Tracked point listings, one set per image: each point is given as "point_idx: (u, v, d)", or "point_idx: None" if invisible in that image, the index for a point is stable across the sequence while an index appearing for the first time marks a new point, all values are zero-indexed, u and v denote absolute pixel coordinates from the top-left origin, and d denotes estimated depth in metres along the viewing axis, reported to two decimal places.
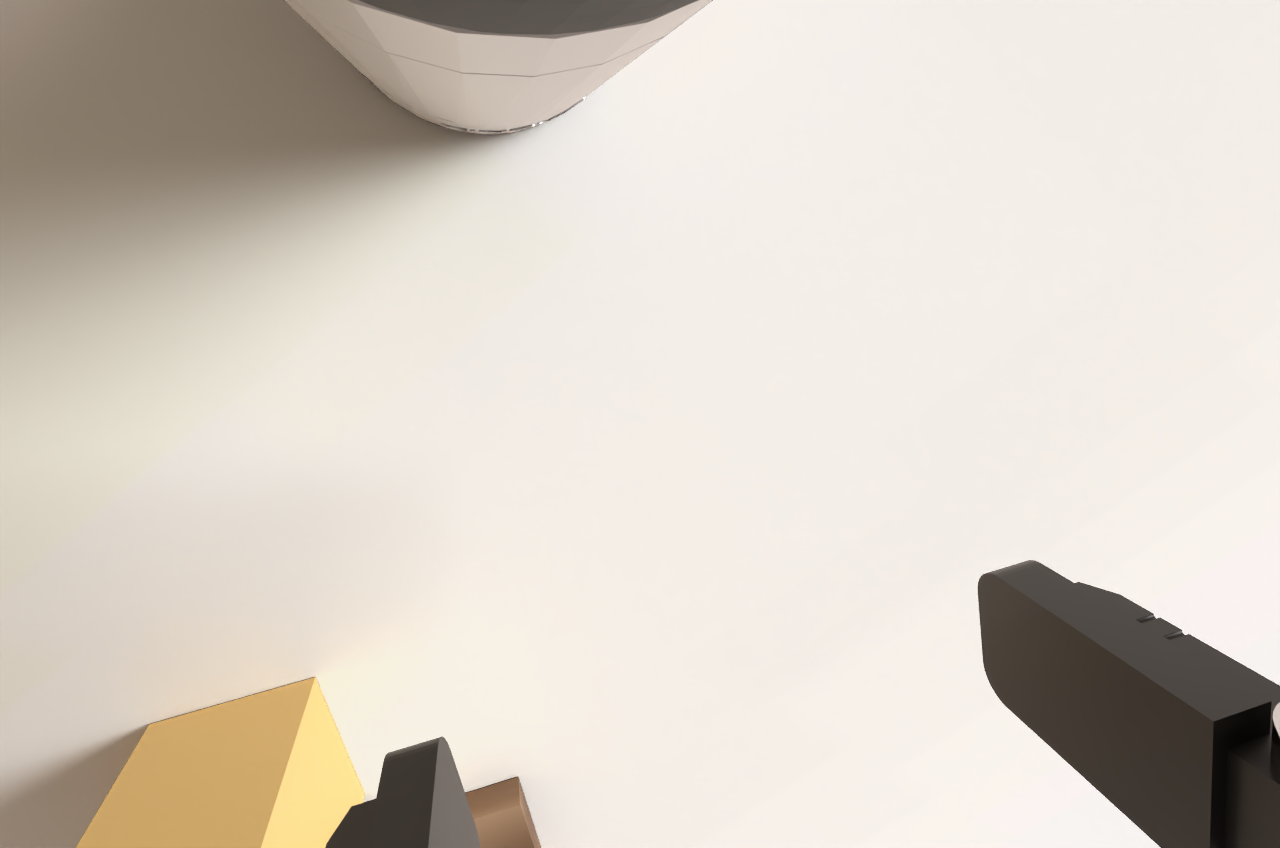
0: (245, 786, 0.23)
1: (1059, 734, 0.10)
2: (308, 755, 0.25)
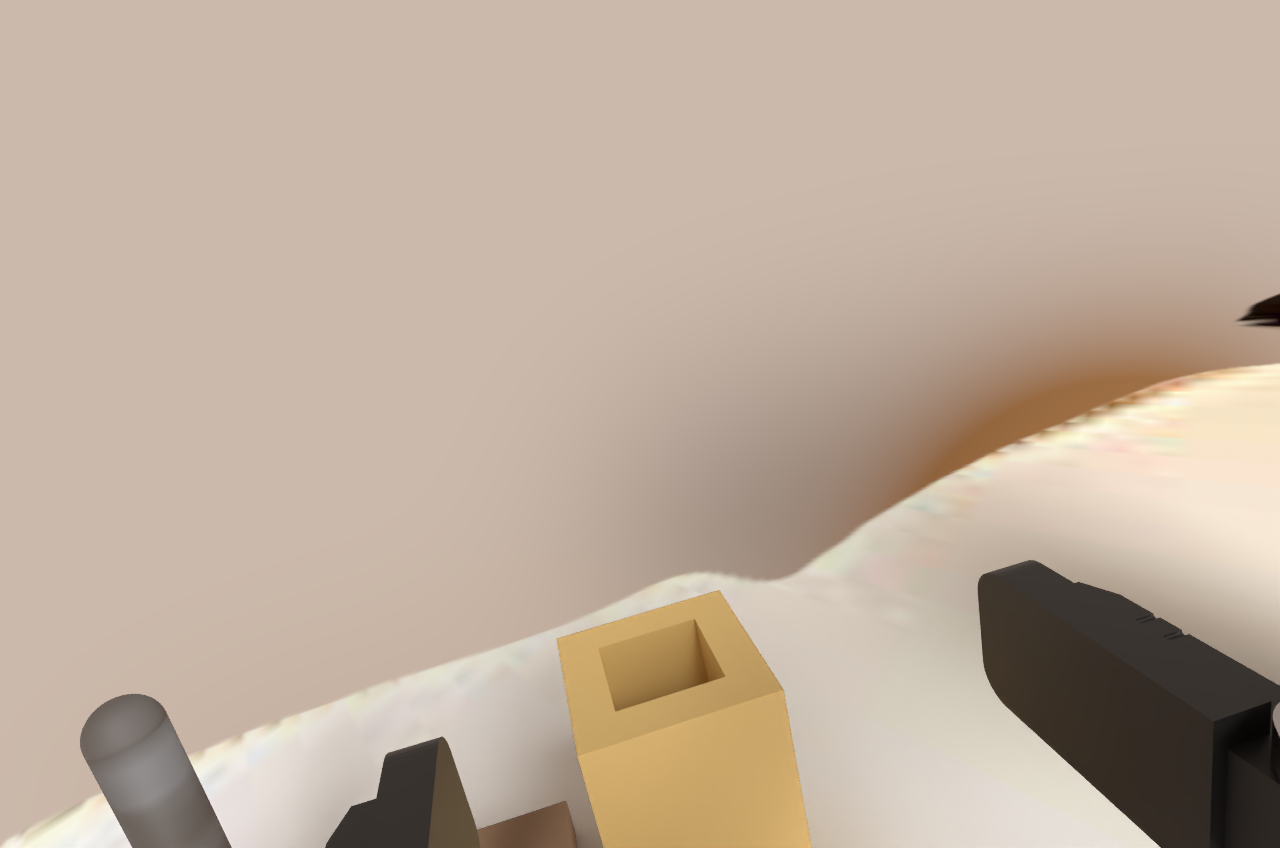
0: None
1: (1059, 734, 0.10)
2: None
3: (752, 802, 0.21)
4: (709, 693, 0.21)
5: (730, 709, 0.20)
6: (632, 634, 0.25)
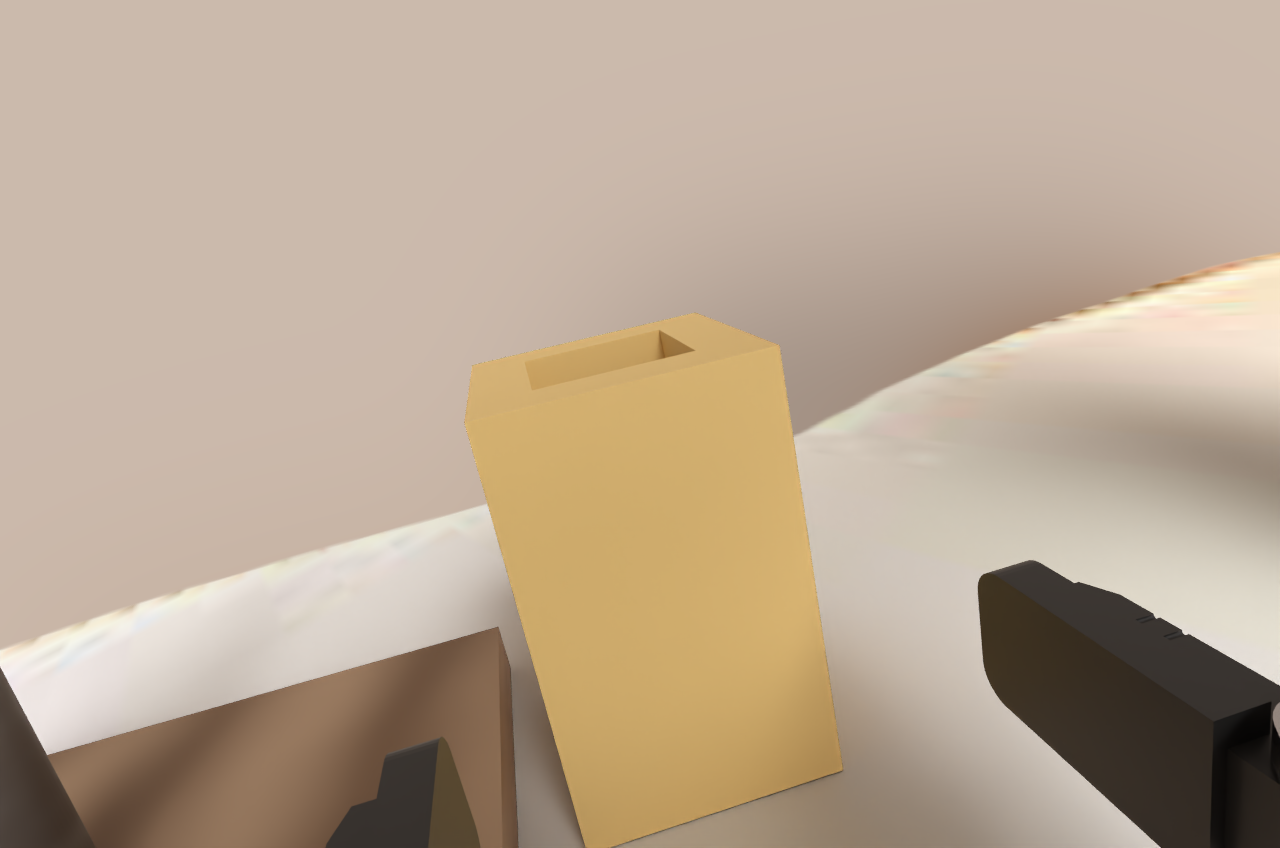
0: None
1: (1059, 734, 0.10)
2: (780, 674, 0.16)
3: (733, 529, 0.15)
4: (670, 362, 0.14)
5: (699, 369, 0.14)
6: (573, 349, 0.18)
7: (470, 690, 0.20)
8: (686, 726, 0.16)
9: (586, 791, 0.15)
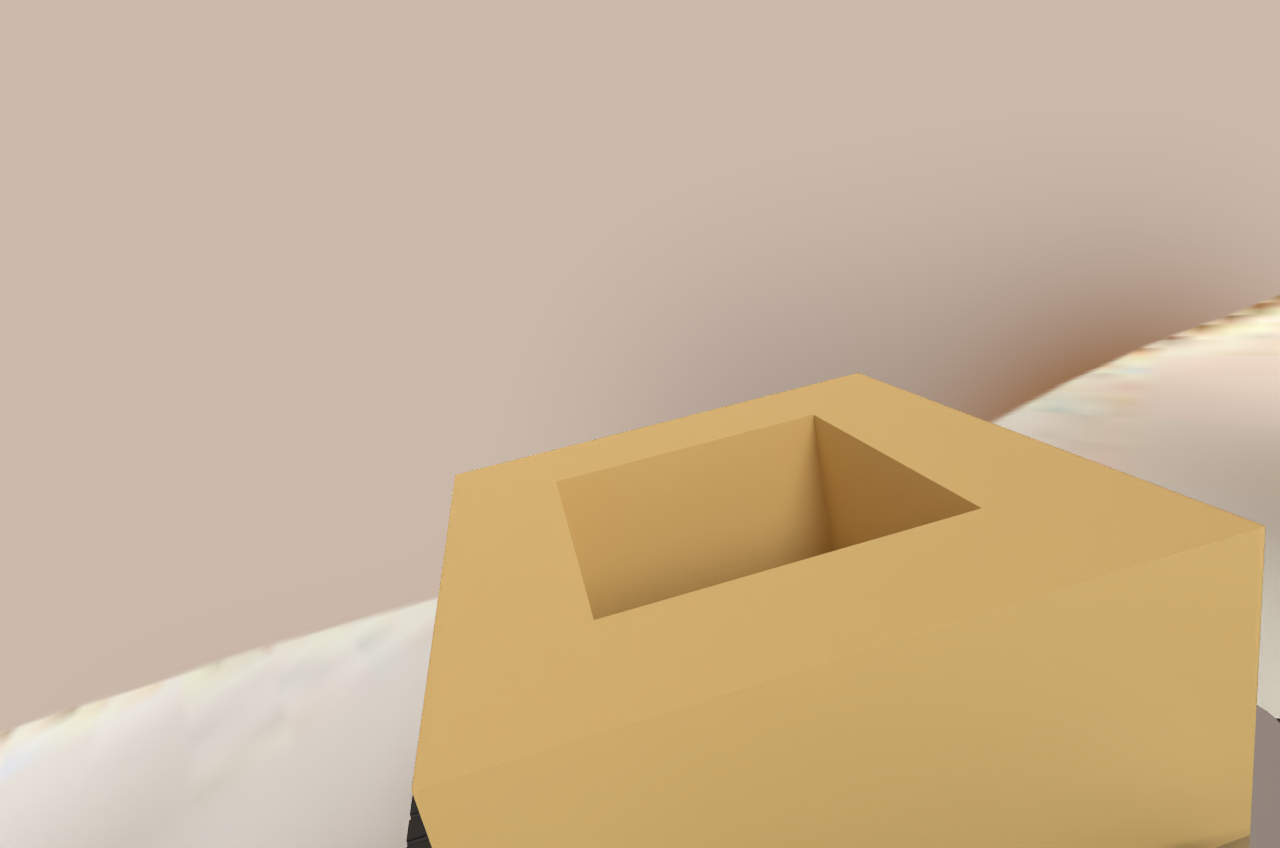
0: None
1: None
2: None
3: None
4: (947, 553, 0.06)
5: (1064, 600, 0.05)
6: (649, 453, 0.09)
7: None
8: None
9: None
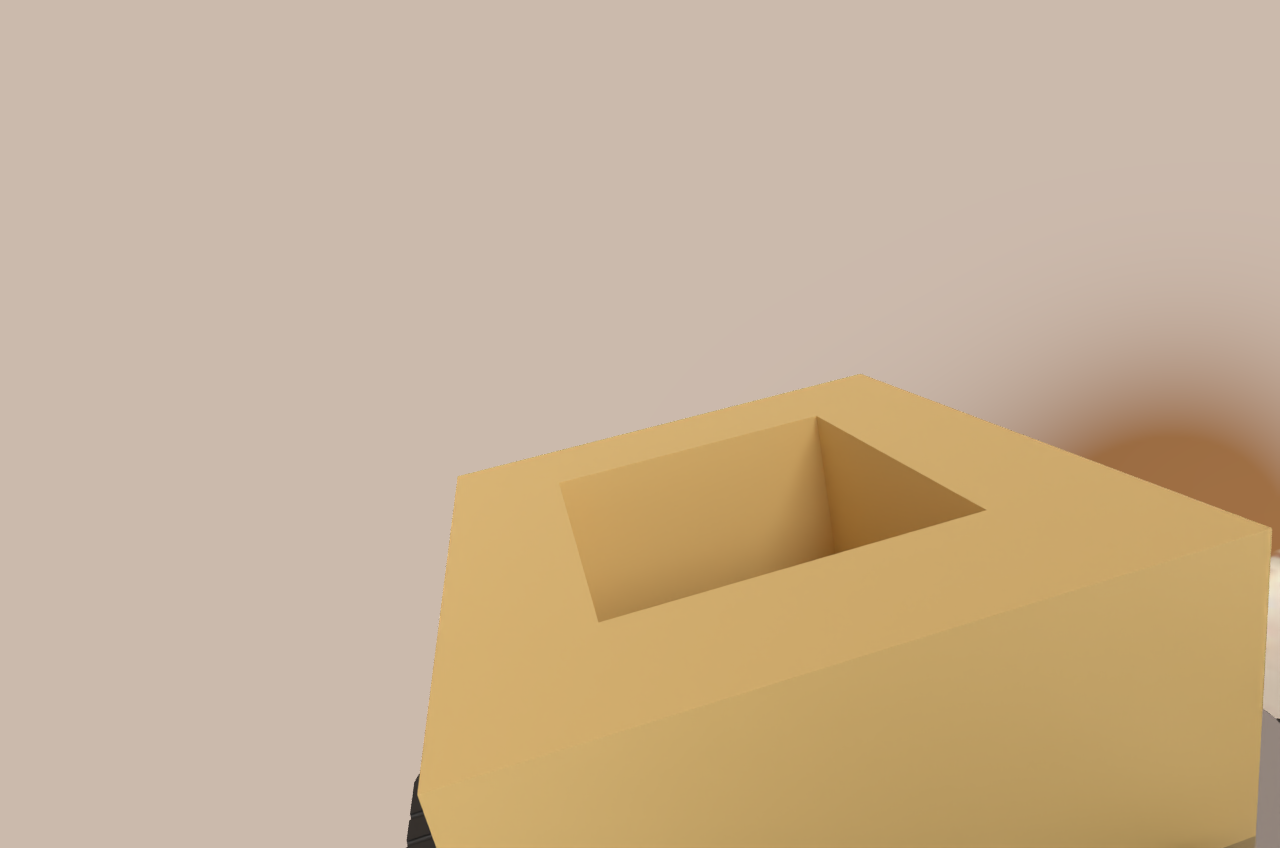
0: None
1: None
2: None
3: None
4: (951, 555, 0.06)
5: (1069, 602, 0.05)
6: (651, 454, 0.09)
7: None
8: None
9: None
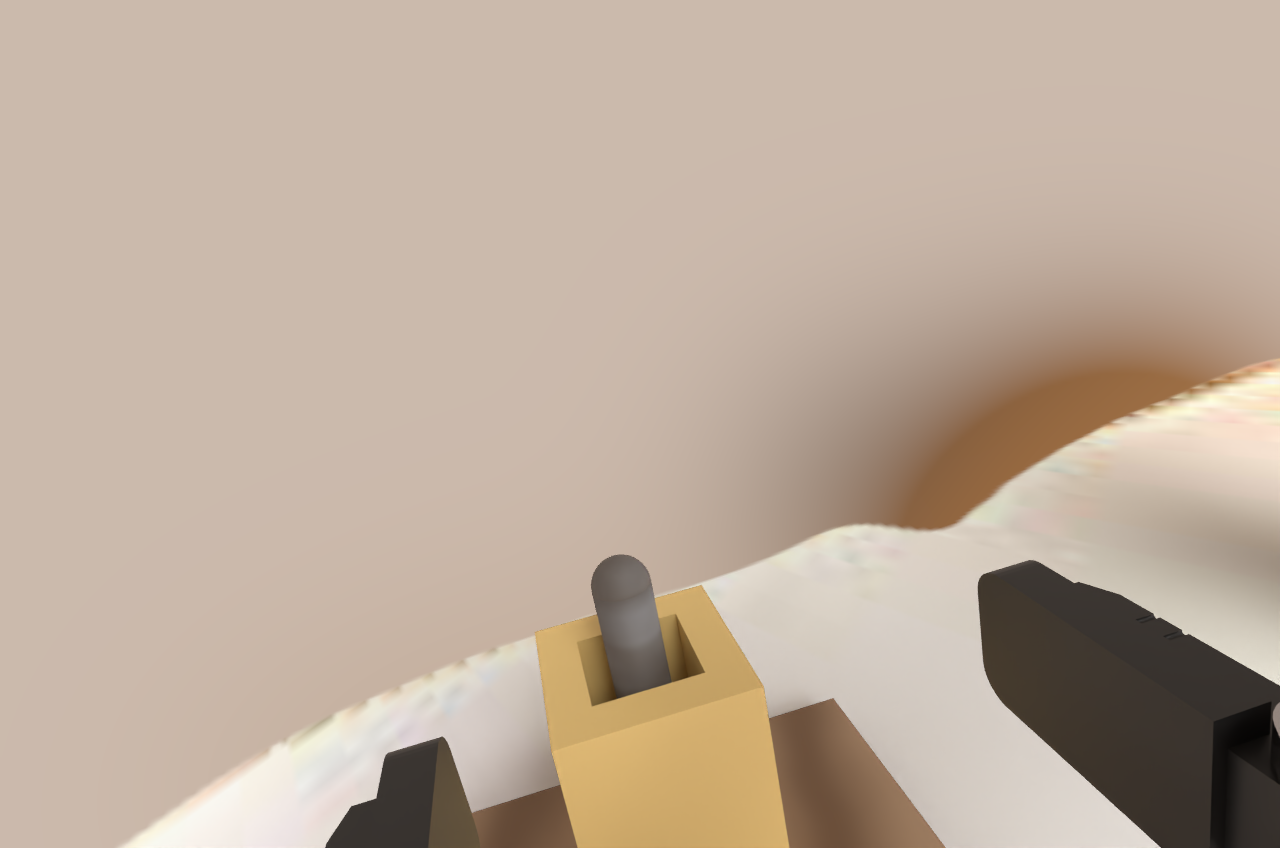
0: None
1: (1059, 734, 0.10)
2: None
3: (730, 800, 0.21)
4: (688, 689, 0.21)
5: (708, 705, 0.20)
6: None
7: (848, 747, 0.31)
8: None
9: None
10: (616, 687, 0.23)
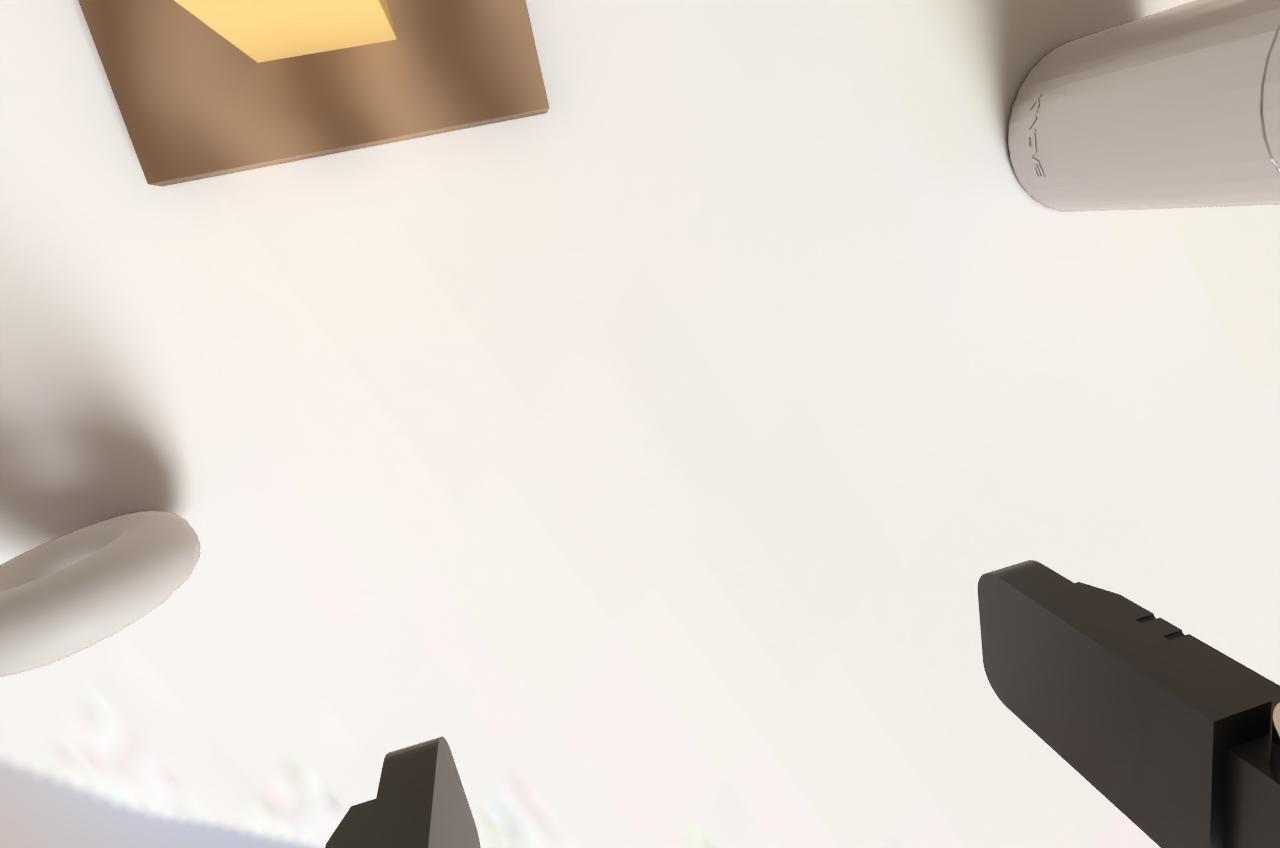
0: None
1: (1059, 734, 0.10)
2: (362, 25, 0.30)
3: (332, 0, 0.26)
4: None
5: None
6: None
7: None
8: (308, 38, 0.30)
9: (254, 52, 0.30)
10: None
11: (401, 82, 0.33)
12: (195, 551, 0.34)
